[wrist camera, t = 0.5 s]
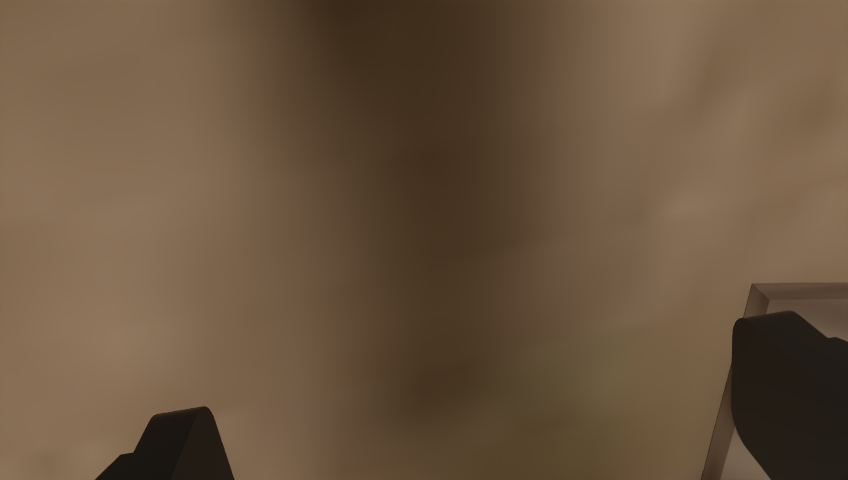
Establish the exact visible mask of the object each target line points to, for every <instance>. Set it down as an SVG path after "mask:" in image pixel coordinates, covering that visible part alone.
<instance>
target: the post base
mask: <svg viewBox="0 0 848 480" xmlns="http://www.w3.org/2000/svg"><path fill="white" fill-rule="evenodd" d="M787 310H790V311H794V312H796V313H797V314H799V315H800V316H801V317H802V318H804V319H805V320H806V321H807V322H809V323H810V324H811V325H812V326H814V327H815V328H816V329H817V330H819V331H820V332H821V333H822V334H824V335H825V336H826V337H827V338H832V337H838V338H840V339H843V340H845V341H847V342H848V283H781V284H752V287H751V291H750V295H749V299H748V302H747V306H746V310H745V314H744V318H745V317H751V316H757V315H763V314H769V313H775V312H781V311H787ZM731 373H732V364H731V368H730V372H729V375H728V379H727V383H726V387H725V391H724V395H723V399H722V402H721V406H720V410H719V414H718V418H717V422H716V425H715V429H714V433H713V437H712V441H711V445H710V449H709V452H708V456H707V460H706V464H705V468H704V472H703V475H702V479H701V480H771V479H770V478H769V477H768V475H767V474H766V473H765V471H764V470H763V469H762V468H761V466H760V465H759V464H758V463H757V461H756V460H755V459H754V457H753V456H752V455H751V454H750V452H749V451H748V450H747V448H746V447H745V446H744V444H743V443H742V441H741V439H740V437H739V435H738V433H737V430H736V427H735V424H734V421H733V417H732V412H731Z"/></svg>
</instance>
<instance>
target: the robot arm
mask: <svg viewBox="0 0 848 480" xmlns="http://www.w3.org/2000/svg"><path fill="white" fill-rule="evenodd" d="M731 412H732V417H733V421H734V424H735V427H736V430H737V433H738V435H739V437H740V439H741V441H742V443H743V444H744V446H745V447H746V448H747V450H748V451H749V452H750V454H751V455H752V456H753V457H754V459H755V460H756V461H757V463H758V464H759V465H760V466H761V468H762V469H763V470H764V471H765V473H766V474H767V475H768V477H769V478H770V479H771V480H848V342H847V341H845V340H843V339H840V338H838V337H832V338H827V337H826V336H825V335H824V334H822V333H821V332H820V331H819V330H817V329H816V328H815V327H814V326H812V325H811V324H810V323H809V322H807V321H806V320H805V319H804V318H802V317H801V316H800V315H799V314H797V313H796V312H794V311H790V310H787V311H781V312H775V313H769V314H763V315H757V316H751V317H745V318H740V319H738V320H737V321H736V322H735V324H734V327H733V335H732V373H731ZM95 480H234V477H233V474H232V471H231V468H230V465H229V462H228V459H227V456H226V453H225V450H224V446H223V443H222V440H221V437H220V434H219V431H218V428H217V425H216V422H215V419H214V416H213V414H212V412H211V411H210V409H209V408H207V407H205V406H204V407H197V408H191V409H185V410H179V411H173V412H167V413H161V414H156V415H154V416H153V417H152V418H151V419H150V421H149V423H148V425H147V427H146V429H145V431H144V433H143V435H142V437H141V439H140V441H139V443H138V444H137V446H136V448H135V450H134V452H133V453H128V454H122V455H120V456H119V457H118V458H117V459H116V460H115V461H114V462H113V463H112V464H111V465H110V466H108V467H107V468H106V469H105V470H104V471H103V472H102V473H101V474H100V475H99V476H98V477H97V478H96V479H95Z"/></svg>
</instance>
